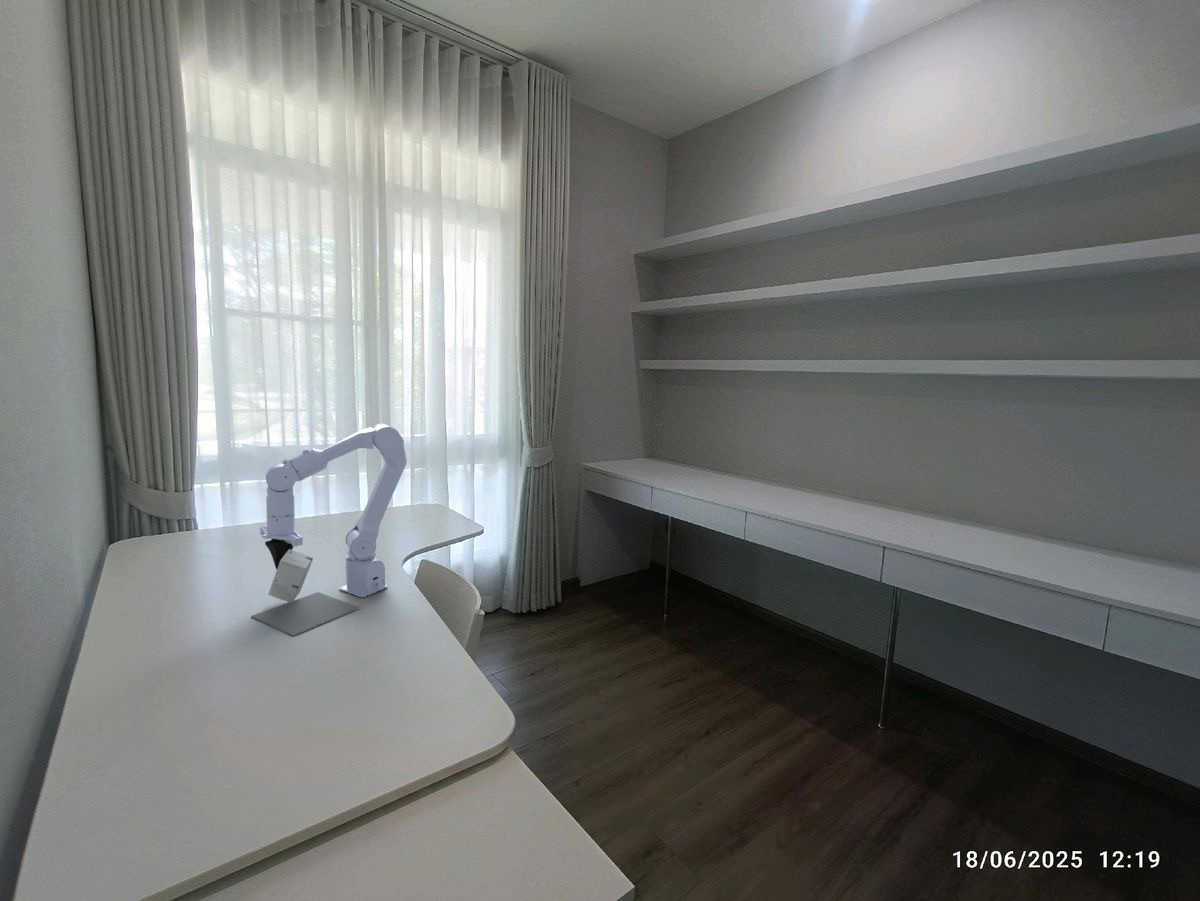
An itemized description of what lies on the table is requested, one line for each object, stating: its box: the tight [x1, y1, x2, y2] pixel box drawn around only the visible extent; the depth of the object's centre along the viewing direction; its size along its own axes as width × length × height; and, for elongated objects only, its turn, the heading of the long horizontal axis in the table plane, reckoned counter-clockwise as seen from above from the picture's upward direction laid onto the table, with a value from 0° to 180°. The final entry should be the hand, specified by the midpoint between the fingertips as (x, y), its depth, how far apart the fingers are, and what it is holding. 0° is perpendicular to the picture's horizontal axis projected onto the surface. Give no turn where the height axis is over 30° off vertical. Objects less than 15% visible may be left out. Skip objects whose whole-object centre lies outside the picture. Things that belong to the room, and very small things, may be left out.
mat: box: [250, 591, 360, 637], centre depth 120 cm, size 16×16×1 cm
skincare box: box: [267, 549, 314, 603], centre depth 123 cm, size 6×4×12 cm
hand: (281, 568), depth 124 cm, fingers closed, pressing on skincare box
